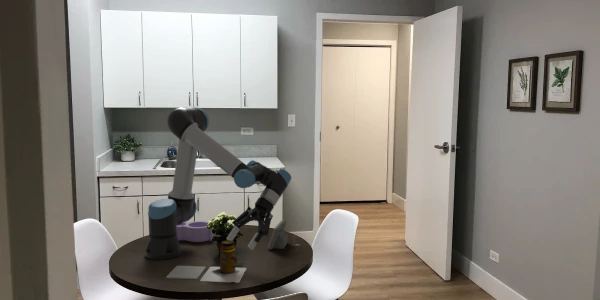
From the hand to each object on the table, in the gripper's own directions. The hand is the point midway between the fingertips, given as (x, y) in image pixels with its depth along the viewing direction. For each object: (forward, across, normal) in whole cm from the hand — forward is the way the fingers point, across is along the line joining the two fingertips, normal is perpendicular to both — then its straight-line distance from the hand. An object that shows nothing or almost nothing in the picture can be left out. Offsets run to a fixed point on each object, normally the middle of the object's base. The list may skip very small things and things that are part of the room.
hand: (239, 244), depth 189 cm
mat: (+19, +11, +5) cm, 23 cm away
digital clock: (-15, +12, -30) cm, 36 cm away
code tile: (+13, 0, -2) cm, 13 cm away
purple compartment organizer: (0, +49, -15) cm, 51 cm away
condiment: (+11, +1, -3) cm, 12 cm away
